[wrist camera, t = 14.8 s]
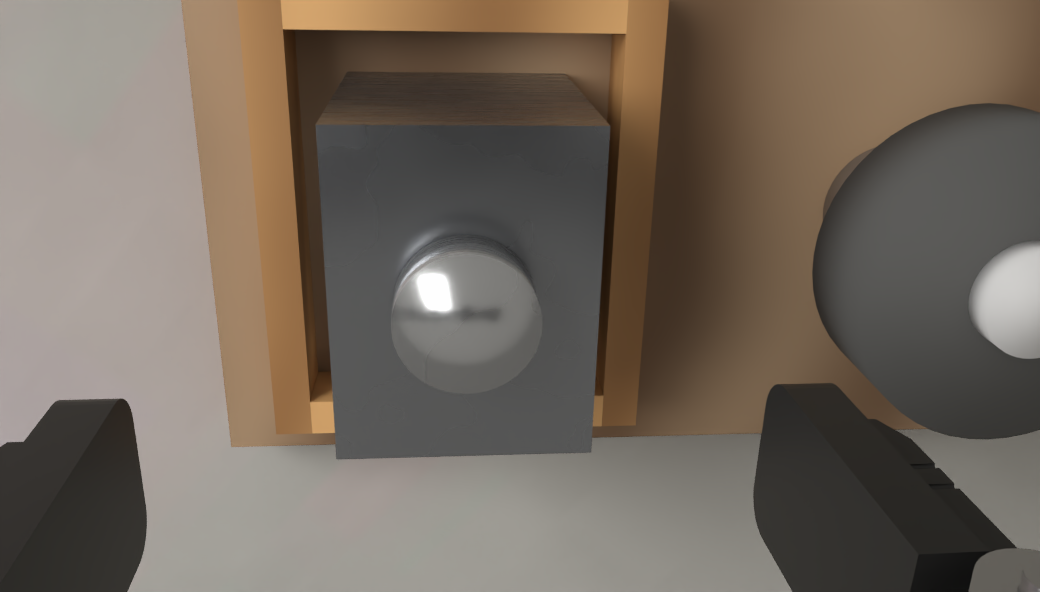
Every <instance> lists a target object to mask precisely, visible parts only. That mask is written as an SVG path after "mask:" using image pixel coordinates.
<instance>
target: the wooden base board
mask: <svg viewBox="0 0 1040 592" xmlns="http://www.w3.org/2000/svg"><path fill="white" fill-rule="evenodd" d="M181 2H182V11H183V20H184V29H185V38H186V47H187V55H188V64H189V73H190V82H191V91H192V100H193V109H194V118H195V127H196V136H197V145H198V153H199V162H200V171H201V180H202V189H203V198H204V207H205V216H206V225H207V234H208V243H209V251H210V260H211V269H212V278H213V287H214V296H215V305H216V314H217V323H218V332H219V340H220V349H221V358H222V367H223V376H224V385H225V394H226V403H227V412H228V421H229V430H230V438H231V447H249V446H288V445H326V444H336V443H335V427H334V411H333V395H332V379H331V363H330V347H329V331H328V315H327V299H326V283H325V267H324V251H323V235H322V219H321V203H320V187H319V171H318V155H317V139H316V123H317V122H318V120H319V118H320V117H321V115H322V113H323V111H324V110H325V108H326V106H327V105H328V103H329V101H330V100H331V98H332V96H333V95H334V93H335V91H336V90H337V88H338V86H339V85H340V83H341V81H342V80H343V78H344V76H345V75H346V73H347V71H348V72H456V73H564V74H566V75H567V76H568V78H569V79H570V80H571V81H572V82H573V83H574V85H575V86H576V87H577V88H578V89H579V90H580V91H581V93H582V94H583V95H584V96H585V97H586V98H587V100H588V101H589V102H590V103H591V104H592V105H593V106H594V108H595V109H596V110H597V111H598V112H599V113H600V115H601V116H602V117H603V118H604V119H605V120H606V121H607V123H608V124H609V125H610V141H609V158H608V175H607V192H606V209H605V226H604V242H603V259H602V276H601V293H600V310H599V327H598V344H597V361H596V378H595V395H594V412H593V429H592V438H594V437H632V436H670V435H708V434H747V433H762V427H763V420H764V413H765V406H766V401H767V397H768V394H769V392H770V390H771V388H772V387H773V386H774V385H776V384H807V383H833V384H835V385H837V386H838V387H839V388H840V389H841V390H842V392H843V393H844V394H845V395H846V396H847V397H848V398H849V399H850V400H851V401H852V402H853V403H854V405H855V406H856V407H857V408H858V409H859V410H860V411H861V412H862V413H863V414H864V415H865V416H866V417H867V419H877V420H878V421H880V422H882V423H884V424H885V425H887V426H889V427H891V428H892V429H894V430H899V429H928V428H926V427H924V426H922V425H920V424H917V423H915V422H914V421H912V420H911V419H909V418H908V417H906V416H905V415H904V414H902V413H901V412H900V411H899V410H898V409H896V408H895V407H894V406H893V405H892V404H891V403H890V402H889V401H888V400H887V399H886V398H885V397H884V396H883V395H882V394H881V393H880V392H879V391H878V390H877V388H876V387H875V386H874V385H873V384H872V383H871V382H870V381H869V380H868V379H867V378H866V377H865V376H864V375H863V374H862V373H861V372H860V371H859V370H858V368H857V367H856V366H855V365H854V364H853V363H852V362H851V361H850V360H849V359H848V358H847V357H846V356H845V355H844V354H843V353H842V352H841V351H840V349H839V348H838V347H837V346H836V344H835V343H834V342H833V340H832V339H831V338H830V336H829V334H828V333H827V331H826V329H825V327H824V325H823V324H822V321H821V318H820V316H819V313H818V310H817V307H816V302H815V297H814V292H813V279H812V269H813V257H814V251H815V246H816V241H817V237H818V234H819V231H820V228H821V225H822V222H823V219H824V217H825V215H826V213H827V210H828V208H829V206H830V204H831V202H832V200H833V198H834V197H835V195H836V194H837V192H838V191H839V189H840V188H841V186H842V184H843V183H844V181H845V180H846V179H847V178H848V176H849V175H850V174H851V173H852V171H853V170H854V169H855V168H856V167H857V165H858V164H859V163H860V162H861V161H862V160H863V159H864V158H865V157H866V156H867V155H868V154H869V153H870V152H871V151H872V150H873V149H875V148H876V147H877V146H878V145H880V144H881V143H882V142H884V141H885V140H886V139H887V138H889V137H890V136H891V135H893V134H894V133H896V132H898V131H899V130H901V129H903V128H904V127H906V126H908V125H909V124H911V123H913V122H915V121H917V120H920V119H922V118H924V117H926V116H928V115H931V114H934V113H937V112H940V111H943V110H946V109H949V108H954V107H959V106H964V105H969V104H983V103H995V104H1008V105H1013V106H1018V107H1022V108H1027V109H1030V110H1033V111H1036V112H1040V0H181Z"/></svg>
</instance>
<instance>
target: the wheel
mask: <svg viewBox="0 0 1040 592" xmlns="http://www.w3.org/2000/svg"><path fill="white" fill-rule="evenodd" d="M812 279H813V292H814V297H815V302H816V307H817V310H818V313H819V316H820V318H821V321H822V324H823V325H824V327H825V329H826V331H827V333H828V334H829V336H830V338H831V339H832V340H833V342H834V343H835V344H836V346H837V347H838V348H839V349H840V351H841V352H842V353H843V354H844V355H845V356H846V357H847V358H848V359H849V360H850V361H851V362H852V363H853V364H854V365H855V366H856V367H857V368H858V370H859V371H860V372H861V373H862V374H863V375H864V376H865V377H866V378H867V379H868V380H869V381H870V382H871V383H872V384H873V385H874V386H875V387H876V388H877V390H878V391H879V392H880V393H881V394H882V395H883V396H884V397H885V398H886V399H887V400H888V401H889V402H890V403H891V404H892V405H893V406H894V407H895V408H896V409H898V410H899V411H900V412H901V413H902V414H904V415H905V416H906V417H908V418H909V419H911V420H912V421H914V422H915V423H917V424H920V425H922V426H924V427H926V428H928V429H930V430H932V431H936V432H939V433H942V434H946V435H949V436H955V437H961V438H967V439H996V438H1007V437H1012V436H1017V435H1022V434H1027V433H1030V432H1033V431H1037V430H1040V112H1036V111H1033V110H1030V109H1027V108H1022V107H1018V106H1013V105H1008V104H995V103H983V104H969V105H964V106H959V107H954V108H949V109H946V110H943V111H940V112H937V113H934V114H931V115H928V116H926V117H924V118H922V119H920V120H917V121H915V122H913V123H911V124H909V125H908V126H906V127H904V128H903V129H901V130H899V131H898V132H896V133H894V134H893V135H891V136H890V137H889V138H887V139H886V140H885V141H884V142H882V143H881V144H880V145H878V146H877V147H876V148H875V149H873V150H872V151H871V152H870V153H869V154H868V155H867V156H866V157H865V158H864V159H863V160H862V161H861V162H860V163H859V164H858V165H857V167H856V168H855V169H854V170H853V171H852V173H851V174H850V175H849V176H848V178H847V179H846V180H845V181H844V183H843V184H842V186H841V188H840V189H839V191H838V192H837V194H836V195H835V197H834V198H833V200H832V202H831V204H830V206H829V208H828V210H827V213H826V215H825V217H824V219H823V222H822V225H821V228H820V231H819V234H818V237H817V241H816V246H815V251H814V257H813V269H812Z"/></svg>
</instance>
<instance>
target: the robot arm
mask: <svg viewBox="0 0 1040 592" xmlns="http://www.w3.org/2000/svg"><path fill="white" fill-rule="evenodd" d="M753 498H754V511H755V518H756V522H757V526H758V529H759V532H760V535H761V537H762V539H763V540H764V542H765V544H766V546H767V547H768V549H769V551H770V553H771V554H772V556H773V558H774V560H775V561H776V563H777V565H778V567H779V569H780V570H781V572H782V574H783V576H784V577H785V579H786V581H787V583H788V584H789V586H790V588H791V590H792V591H793V592H1040V551H1036V550H1031V549H1020V548H1016V546H1015V545H1014V544H1013V543H1012V542H1011V541H1010V540H1009V539H1008V538H1007V537H1006V536H1005V535H1004V534H1003V533H1002V532H1001V531H1000V530H999V529H998V528H997V527H996V526H995V525H994V524H993V523H992V522H991V521H990V520H989V519H988V518H987V517H986V516H985V515H984V514H983V513H982V512H981V510H980V509H979V508H978V507H977V506H976V505H975V504H974V503H973V502H972V501H971V500H970V499H969V498H968V497H967V496H966V495H965V494H964V493H963V492H962V491H961V490H960V489H955V488H954V483H953V482H952V481H951V480H950V479H949V478H948V477H947V476H946V474H945V473H944V472H943V471H942V470H941V469H940V468H935V463H934V462H933V461H932V460H931V459H930V458H929V457H928V456H927V455H926V454H925V453H924V452H923V451H922V450H921V449H920V448H919V447H918V446H917V445H916V444H915V443H914V442H913V441H912V440H911V439H910V438H908V437H906V436H905V435H903V434H901V433H899V432H898V431H896V430H894V429H892V428H891V427H889V426H887V425H885V424H884V423H882V422H880V421H878V420H877V419H867V417H866V416H865V415H864V414H863V413H862V412H861V411H860V410H859V409H858V408H857V407H856V406H855V405H854V403H853V402H852V401H851V400H850V399H849V398H848V397H847V396H846V395H845V394H844V393H843V392H842V390H841V389H840V388H839V387H838V386H837V385H835V384H833V383H807V384H776V385H774V386H773V387H772V388H771V390H770V392H769V394H768V397H767V401H766V406H765V413H764V420H763V427H762V434H761V441H760V448H759V455H758V462H757V469H756V476H755V483H754V496H753ZM146 528H147V515H146V504H145V498H144V491H143V484H142V477H141V470H140V463H139V456H138V450H137V443H136V436H135V429H134V422H133V417H132V412H131V409H130V406H129V404H128V403H127V401H126V400H124V399H89V400H59V401H56V402H55V403H54V404H53V405H52V406H51V407H50V408H49V410H48V411H47V412H46V414H45V415H44V416H43V418H42V419H41V420H40V421H39V423H38V424H37V425H36V427H35V428H34V429H33V431H32V432H31V433H30V434H29V436H28V437H27V438H26V440H25V441H24V442H7V443H6V444H4V445H3V446H1V447H0V592H127V591H128V589H129V587H130V584H131V582H132V580H133V577H134V575H135V573H136V571H137V568H138V566H139V564H140V561H141V558H142V555H143V551H144V546H145V540H146Z"/></svg>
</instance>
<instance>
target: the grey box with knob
mask: <svg viewBox="0 0 1040 592" xmlns="http://www.w3.org/2000/svg"><path fill="white" fill-rule="evenodd" d="M316 139H317V155H318V171H319V187H320V203H321V219H322V235H323V251H324V267H325V283H326V299H327V315H328V331H329V347H330V363H331V379H332V395H333V411H334V427H335V443H336V459H367V458H403V457H440V456H476V455H513V454H549V453H586V452H591V446H592V429H593V412H594V395H595V378H596V361H597V344H598V327H599V310H600V293H601V276H602V259H603V242H604V226H605V209H606V192H607V175H608V158H609V141H610V125H609V124H608V123H607V121H606V120H605V119H604V118H603V117H602V116H601V115H600V113H599V112H598V111H597V110H596V109H595V108H594V106H593V105H592V104H591V103H590V102H589V101H588V100H587V98H586V97H585V96H584V95H583V94H582V93H581V91H580V90H579V89H578V88H577V87H576V86H575V85H574V83H573V82H572V81H571V80H570V79H569V78H568V76H567V75H566V74H564V73H456V72H348V71H347V73H346V75H345V76H344V78H343V80H342V81H341V83H340V85H339V86H338V88H337V90H336V91H335V93H334V95H333V96H332V98H331V100H330V101H329V103H328V105H327V106H326V108H325V110H324V111H323V113H322V115H321V117H320V118H319V120H318V122H317V123H316Z"/></svg>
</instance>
